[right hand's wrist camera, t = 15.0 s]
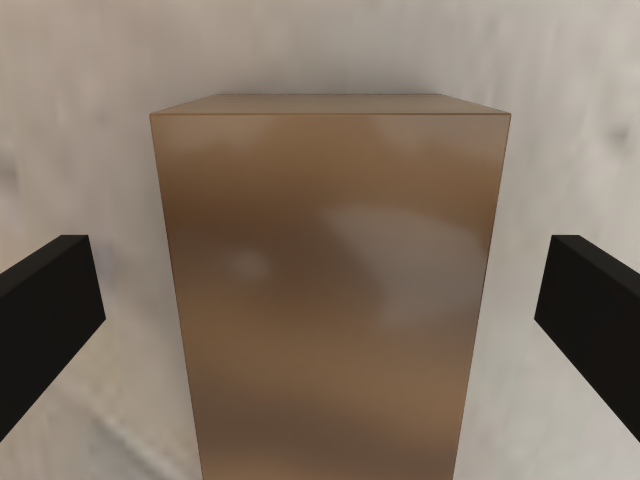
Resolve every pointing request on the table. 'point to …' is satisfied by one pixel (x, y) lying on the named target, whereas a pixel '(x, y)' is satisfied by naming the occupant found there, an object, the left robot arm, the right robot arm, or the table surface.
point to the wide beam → (329, 276)
